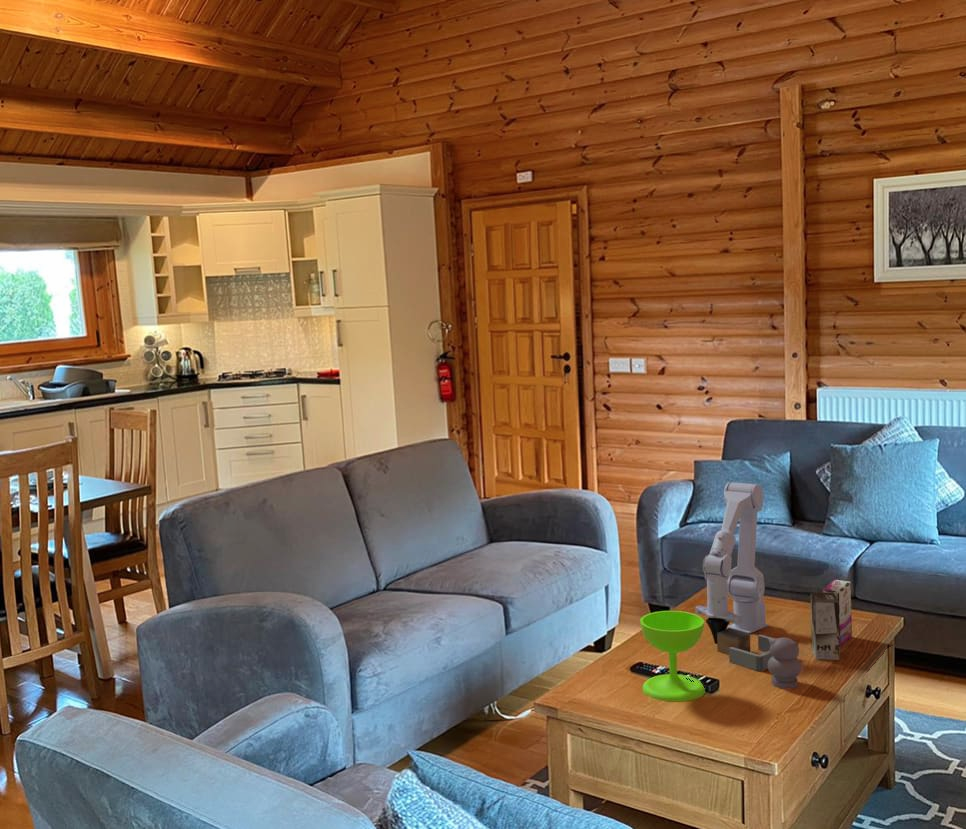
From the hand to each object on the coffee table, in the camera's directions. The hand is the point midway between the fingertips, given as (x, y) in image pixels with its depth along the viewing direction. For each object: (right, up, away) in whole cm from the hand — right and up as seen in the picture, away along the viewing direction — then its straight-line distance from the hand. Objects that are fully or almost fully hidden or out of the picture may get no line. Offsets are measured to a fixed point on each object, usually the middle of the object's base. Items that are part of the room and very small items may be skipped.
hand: (718, 643), depth 275 cm
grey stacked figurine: (+10, -4, -27) cm, 30 cm away
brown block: (+3, -2, -4) cm, 5 cm away
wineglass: (-18, -6, -27) cm, 33 cm away
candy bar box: (+34, 0, 0) cm, 34 cm away
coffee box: (+27, -1, -9) cm, 29 cm away
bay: (+9, -2, -11) cm, 14 cm away
